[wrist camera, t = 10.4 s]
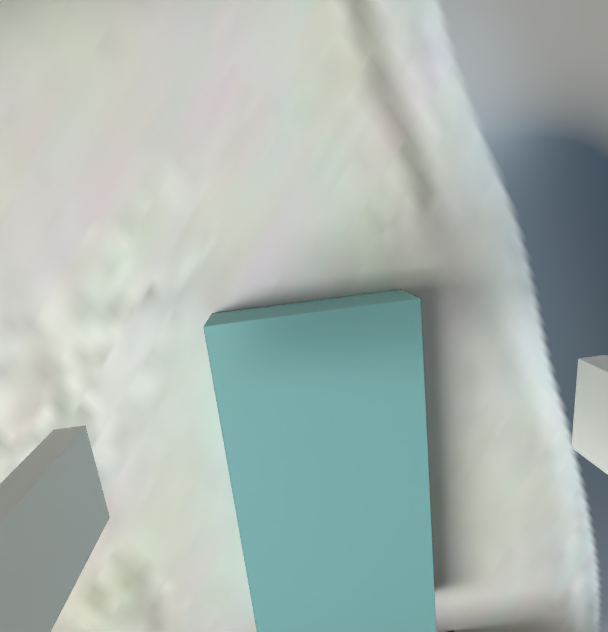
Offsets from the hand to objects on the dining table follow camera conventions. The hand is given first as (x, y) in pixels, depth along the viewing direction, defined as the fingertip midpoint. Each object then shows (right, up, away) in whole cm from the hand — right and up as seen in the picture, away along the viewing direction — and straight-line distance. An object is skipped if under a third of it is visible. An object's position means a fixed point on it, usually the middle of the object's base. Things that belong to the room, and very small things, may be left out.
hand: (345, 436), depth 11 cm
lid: (0, -5, +11) cm, 12 cm away
